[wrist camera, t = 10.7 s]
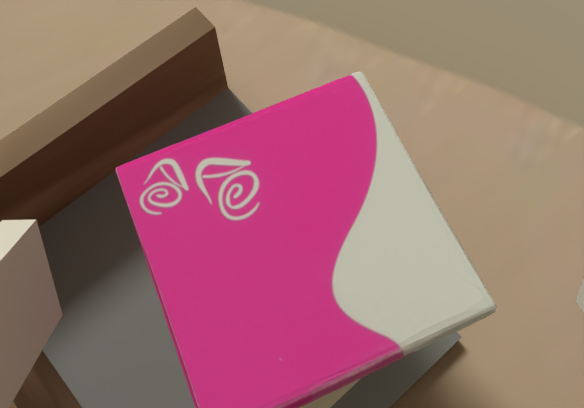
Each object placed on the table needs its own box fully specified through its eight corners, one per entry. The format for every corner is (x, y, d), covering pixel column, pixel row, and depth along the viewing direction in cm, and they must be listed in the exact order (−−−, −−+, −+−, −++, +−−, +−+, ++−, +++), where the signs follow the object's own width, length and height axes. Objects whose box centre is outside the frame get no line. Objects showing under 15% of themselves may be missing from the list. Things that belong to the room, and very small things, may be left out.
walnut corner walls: (-47, 266, 21) (-143, 238, 17) (213, 77, 24) (195, 6, 20) (182, 607, 18) (144, 695, 13) (456, 337, 21) (507, 329, 16)
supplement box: (329, 214, 22) (371, 58, 11) (392, 347, 20) (519, 324, 9) (201, 268, 21) (103, 160, 10) (255, 411, 19) (213, 471, 8)
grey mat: (-47, 266, 21) (-58, 263, 21) (213, 77, 24) (211, 69, 24) (182, 607, 18) (178, 616, 17) (456, 337, 21) (462, 336, 20)
